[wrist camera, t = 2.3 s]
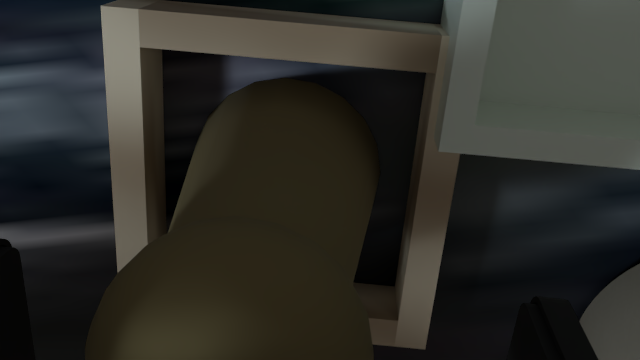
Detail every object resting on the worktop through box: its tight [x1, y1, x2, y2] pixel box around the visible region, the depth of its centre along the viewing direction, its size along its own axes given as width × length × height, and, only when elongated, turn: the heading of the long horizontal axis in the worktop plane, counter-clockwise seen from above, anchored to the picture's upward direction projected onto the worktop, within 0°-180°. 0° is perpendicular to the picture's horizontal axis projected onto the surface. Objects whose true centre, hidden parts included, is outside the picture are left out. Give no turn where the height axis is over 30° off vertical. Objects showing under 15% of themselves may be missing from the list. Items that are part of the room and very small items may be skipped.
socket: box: [101, 0, 460, 349], centre depth 19 cm, size 10×10×2 cm
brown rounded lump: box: [85, 78, 380, 360], centre depth 15 cm, size 6×6×11 cm
